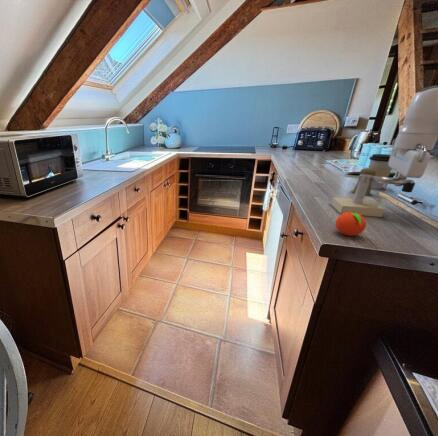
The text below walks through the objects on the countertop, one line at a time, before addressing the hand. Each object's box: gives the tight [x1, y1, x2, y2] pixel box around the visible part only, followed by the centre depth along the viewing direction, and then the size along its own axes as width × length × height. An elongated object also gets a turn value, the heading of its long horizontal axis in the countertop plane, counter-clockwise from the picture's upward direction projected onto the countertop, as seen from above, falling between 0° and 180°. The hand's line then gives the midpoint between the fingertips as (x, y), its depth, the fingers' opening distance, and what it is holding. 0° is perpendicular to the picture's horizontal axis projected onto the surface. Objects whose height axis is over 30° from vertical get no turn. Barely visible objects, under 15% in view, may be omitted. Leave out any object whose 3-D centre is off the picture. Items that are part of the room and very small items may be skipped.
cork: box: [352, 167, 376, 196], centre depth 106 cm, size 6×6×11 cm
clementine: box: [335, 212, 367, 237], centre depth 70 cm, size 8×7×7 cm
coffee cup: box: [368, 153, 393, 190], centre depth 113 cm, size 9×9×15 cm
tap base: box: [330, 181, 386, 218], centre depth 87 cm, size 12×10×11 cm
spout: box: [357, 173, 416, 193], centre depth 82 cm, size 14×4×4 cm, turn 48°
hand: (397, 185), depth 82 cm, fingers closed
